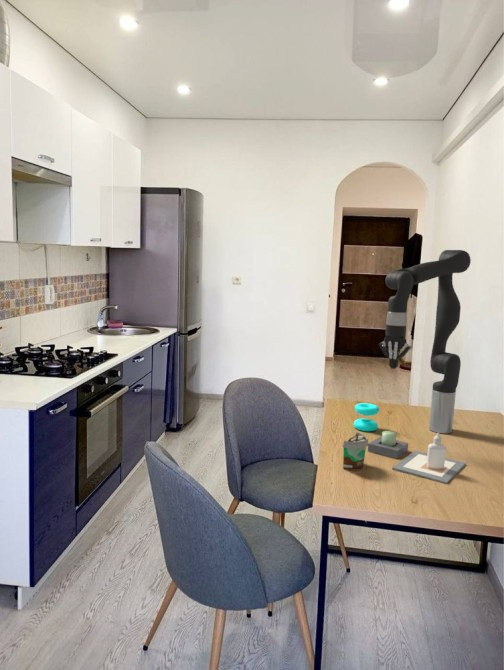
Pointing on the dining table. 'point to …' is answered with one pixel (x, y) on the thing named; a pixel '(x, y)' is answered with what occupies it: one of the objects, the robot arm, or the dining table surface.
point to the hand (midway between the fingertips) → (393, 368)
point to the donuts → (368, 411)
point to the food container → (354, 452)
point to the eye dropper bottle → (436, 454)
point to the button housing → (388, 448)
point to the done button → (388, 438)
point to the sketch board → (418, 467)
